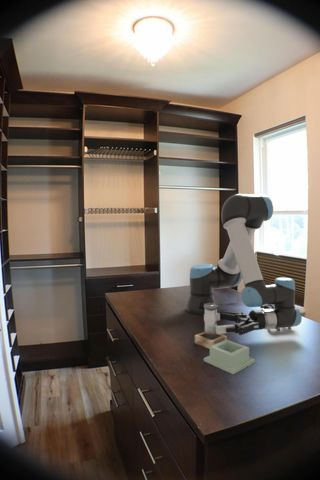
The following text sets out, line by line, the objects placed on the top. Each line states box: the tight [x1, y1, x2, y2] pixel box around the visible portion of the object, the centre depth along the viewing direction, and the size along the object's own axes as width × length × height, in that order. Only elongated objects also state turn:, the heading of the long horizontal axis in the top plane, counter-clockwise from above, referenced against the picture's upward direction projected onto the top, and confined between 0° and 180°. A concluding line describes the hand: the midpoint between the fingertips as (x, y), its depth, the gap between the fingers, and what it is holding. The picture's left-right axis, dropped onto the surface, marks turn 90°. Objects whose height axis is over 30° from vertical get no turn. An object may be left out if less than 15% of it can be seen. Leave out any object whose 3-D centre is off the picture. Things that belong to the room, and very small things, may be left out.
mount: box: [194, 331, 228, 350], centre depth 121 cm, size 9×9×3 cm
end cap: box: [259, 304, 275, 309], centre depth 147 cm, size 10×7×7 cm
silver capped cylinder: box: [204, 302, 219, 340], centre depth 121 cm, size 5×5×15 cm
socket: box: [203, 339, 256, 375], centre depth 106 cm, size 12×12×5 cm
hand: (210, 323), depth 120 cm, fingers open, 13 cm apart
